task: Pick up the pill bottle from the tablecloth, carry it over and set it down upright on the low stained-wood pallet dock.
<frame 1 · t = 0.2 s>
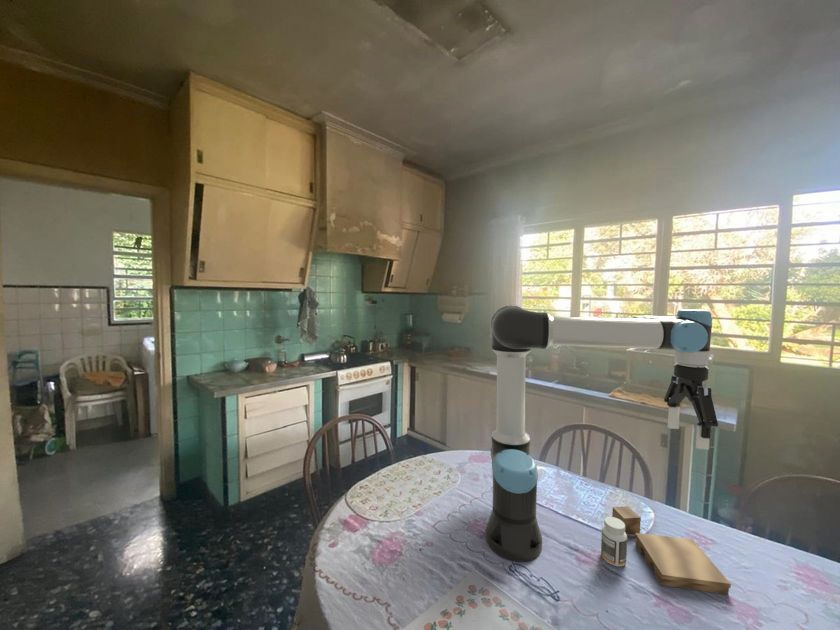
hand: (686, 437, 96), 28 cm above the table, fingers open, 13 cm apart
pill bottle: (613, 559, 87), on the table
wooden cube: (625, 528, 99), on the table
dock: (677, 567, 85), on the table
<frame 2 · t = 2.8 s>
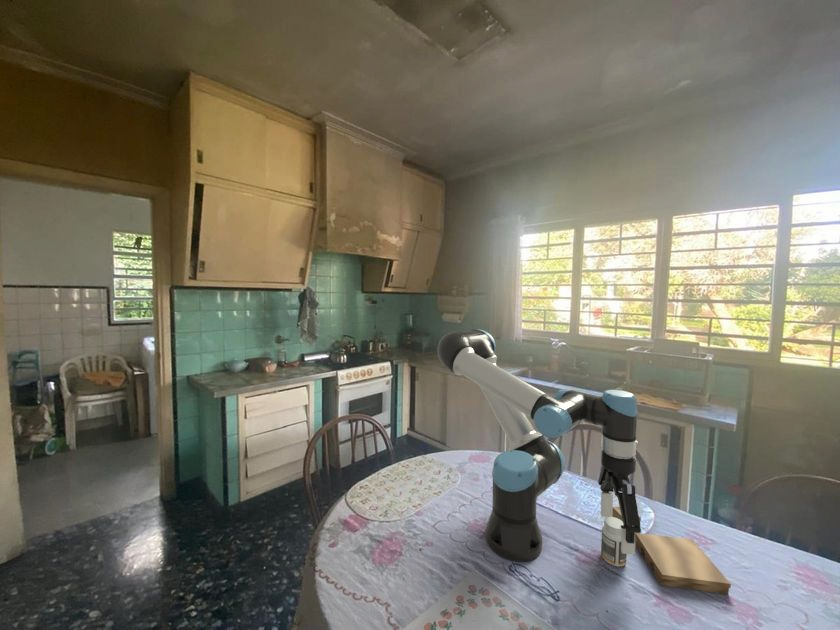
hand: (616, 533, 87), 7 cm above the table, fingers open, 13 cm apart
nothing on the table moved.
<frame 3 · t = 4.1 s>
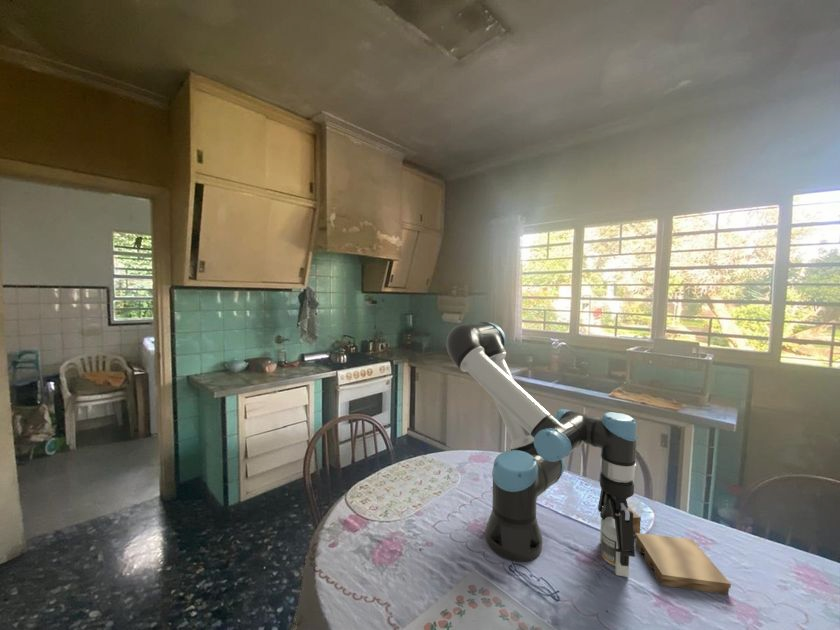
hand: (613, 558, 87), 0 cm above the table, fingers open, 10 cm apart
nothing on the table moved.
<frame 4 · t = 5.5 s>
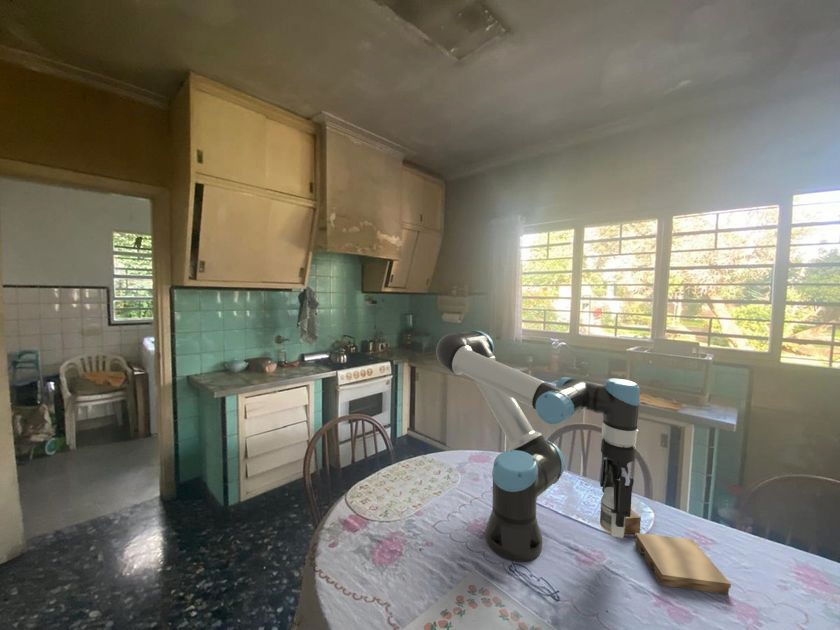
hand: (611, 526, 87), 8 cm above the table, fingers closed on pill bottle, 6 cm apart
pill bottle: (611, 528, 87), point 8 cm above the table, touching gripper
everything else where it was.
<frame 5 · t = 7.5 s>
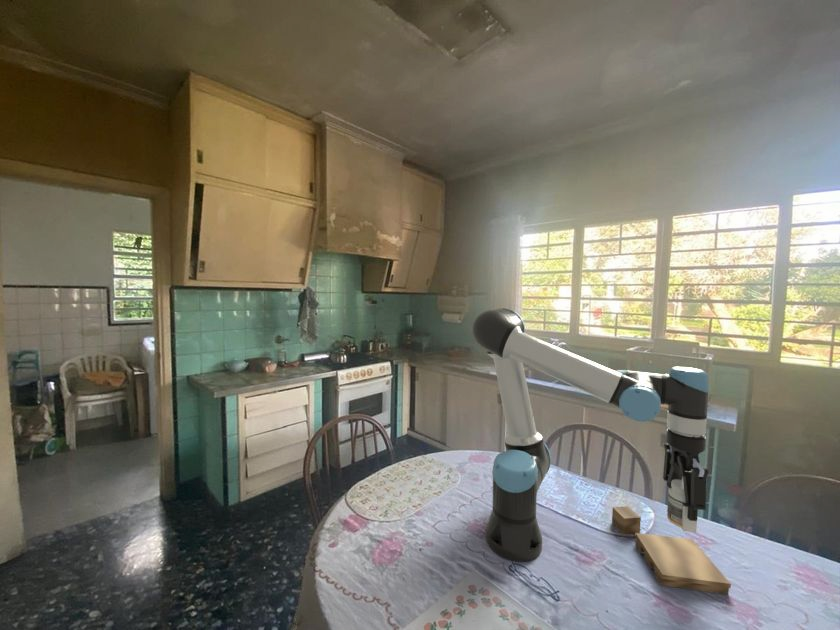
hand: (681, 521, 84), 12 cm above the table, fingers closed on pill bottle, 6 cm apart
pill bottle: (681, 523, 84), point 12 cm above the table, touching gripper
everything else where it was.
when the fingers open (4 cm above the table, at t = 9.5 s): pill bottle stays where it is, resting on dock.
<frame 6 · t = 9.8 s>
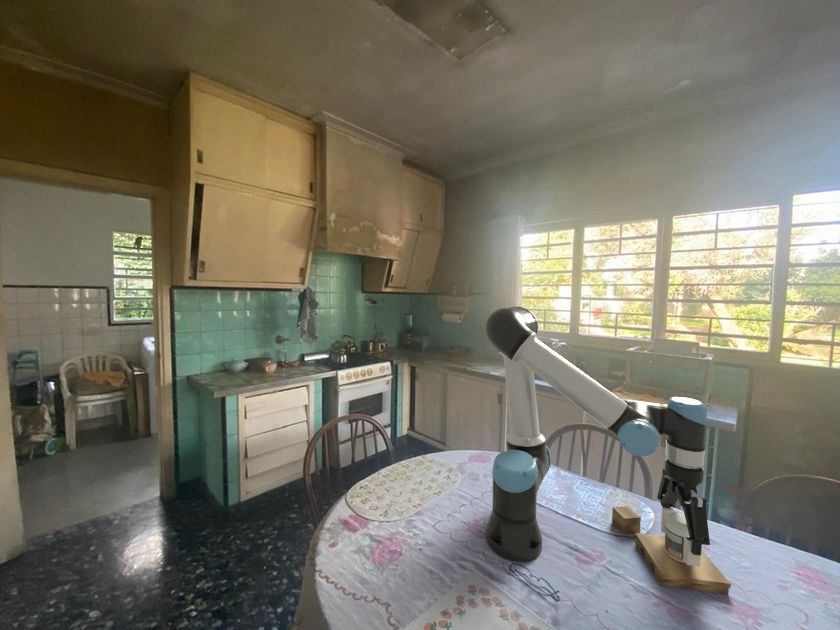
hand: (679, 547, 84), 5 cm above the table, fingers open, 10 cm apart
pill bottle: (678, 556, 85), point 3 cm above the table, touching dock
everything else where it was.
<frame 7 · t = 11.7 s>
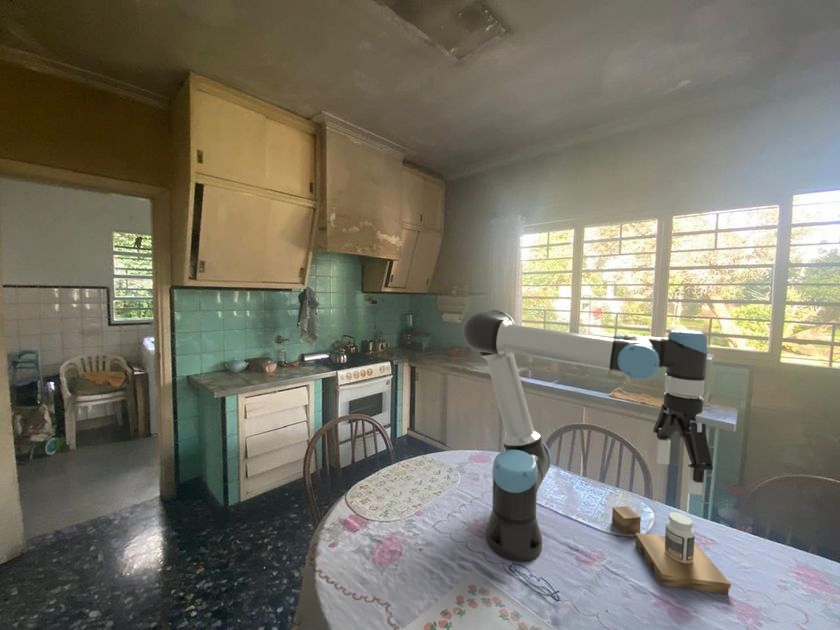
hand: (677, 477, 84), 23 cm above the table, fingers open, 13 cm apart
nothing on the table moved.
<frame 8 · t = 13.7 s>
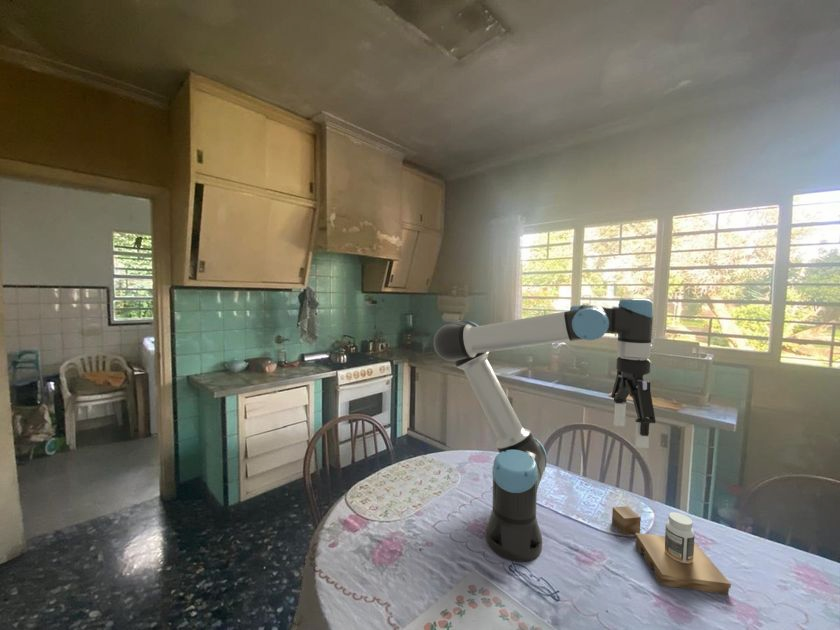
hand: (629, 435, 90), 31 cm above the table, fingers open, 13 cm apart
nothing on the table moved.
at the end: pill bottle inside the target area on the dock (0.0 cm from its centre), point 2.8 cm above the dock's base; pill bottle tilted 0°; the gripper is holding nothing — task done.
